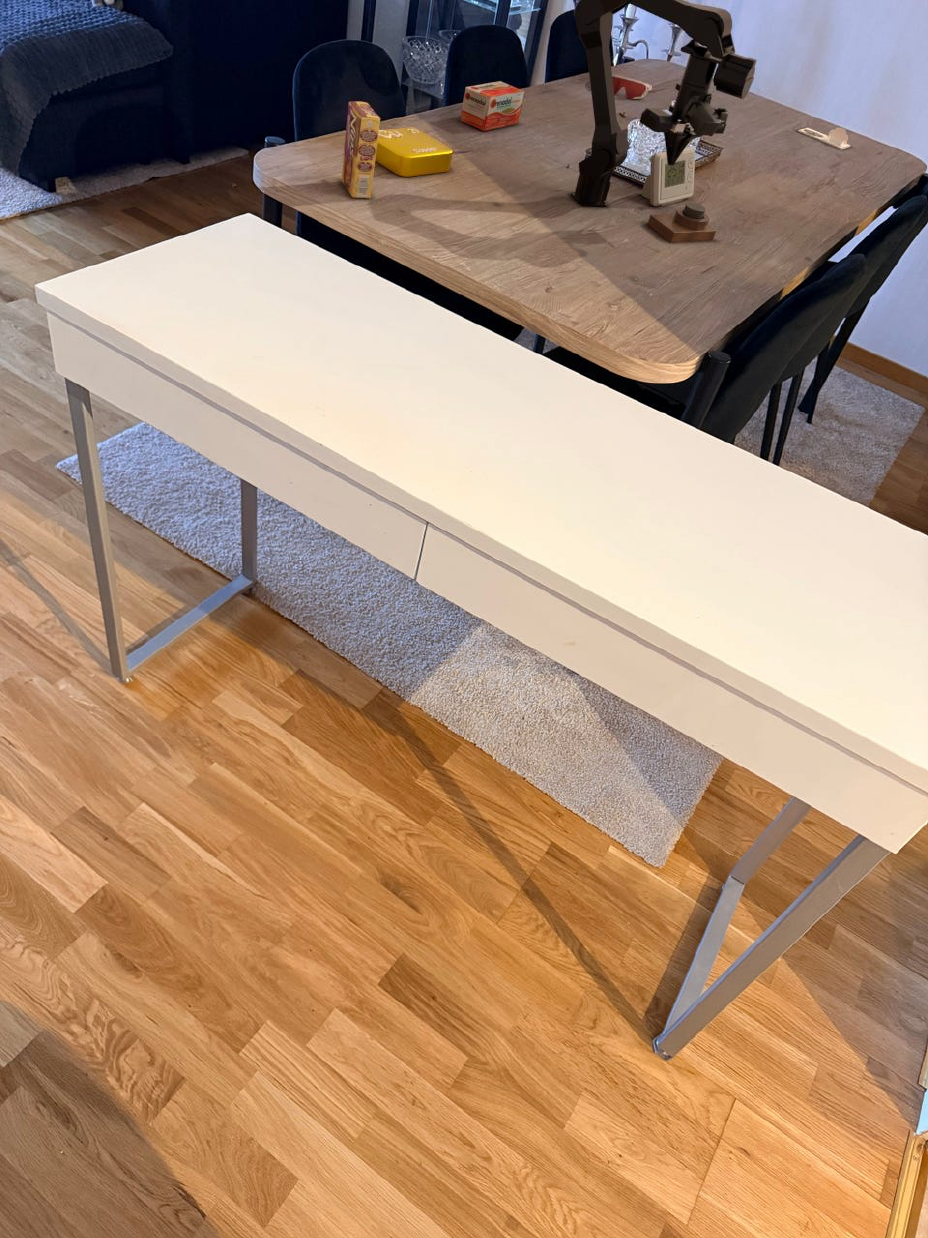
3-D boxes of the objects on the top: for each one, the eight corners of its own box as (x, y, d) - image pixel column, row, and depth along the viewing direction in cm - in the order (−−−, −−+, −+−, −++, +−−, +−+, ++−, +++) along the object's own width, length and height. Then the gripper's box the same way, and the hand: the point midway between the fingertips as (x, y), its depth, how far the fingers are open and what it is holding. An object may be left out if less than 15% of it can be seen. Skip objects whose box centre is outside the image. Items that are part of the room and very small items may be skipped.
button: (690, 220, 199) (694, 210, 198) (678, 211, 202) (682, 202, 200) (706, 219, 201) (709, 210, 200) (694, 211, 204) (697, 201, 202)
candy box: (372, 199, 186) (381, 118, 175) (352, 198, 184) (359, 116, 174) (360, 181, 191) (368, 101, 181) (340, 180, 190) (347, 99, 179)
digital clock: (651, 208, 210) (667, 160, 203) (626, 192, 215) (640, 144, 208) (700, 204, 218) (717, 157, 211) (675, 189, 223) (690, 142, 216)
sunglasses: (593, 89, 272) (597, 70, 269) (593, 86, 286) (597, 67, 284) (649, 103, 272) (654, 84, 270) (647, 99, 286) (652, 81, 284)
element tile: (401, 178, 196) (404, 154, 193) (359, 151, 203) (361, 128, 200) (453, 171, 205) (457, 148, 201) (411, 145, 212) (414, 123, 208)
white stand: (849, 146, 279) (856, 131, 276) (840, 149, 275) (847, 133, 272) (807, 128, 285) (813, 113, 282) (797, 131, 281) (803, 115, 278)
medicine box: (494, 113, 240) (500, 79, 234) (518, 124, 237) (525, 90, 232) (458, 121, 230) (464, 86, 225) (484, 132, 228) (490, 97, 222)
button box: (670, 242, 198) (677, 223, 195) (647, 224, 203) (652, 206, 200) (712, 240, 203) (719, 222, 200) (688, 222, 208) (694, 204, 205)
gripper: (683, 95, 174) (657, 180, 185) (756, 98, 182) (726, 179, 193) (650, 75, 181) (626, 158, 191) (721, 79, 189) (695, 158, 200)
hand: (670, 164), depth 194 cm, fingers closed
